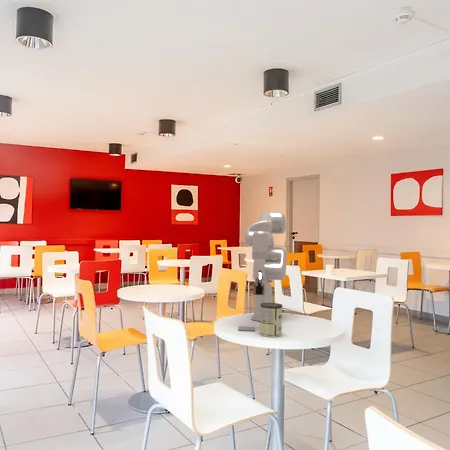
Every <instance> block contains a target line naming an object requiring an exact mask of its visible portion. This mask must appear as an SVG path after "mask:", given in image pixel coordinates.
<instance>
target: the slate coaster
mask: <svg viewBox="0 0 450 450" xmlns="http://www.w3.org/2000/svg"><path fill="white" fill-rule="evenodd" d="M238 332H256V327H255V326H246V325H245V326H241V325H239V326H238Z"/></svg>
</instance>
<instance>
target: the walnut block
mask: <svg viewBox="0 0 450 450" xmlns="http://www.w3.org/2000/svg"><path fill="white" fill-rule="evenodd" d="M256 286H257V284H255V282H254V283H253V287H252V289H253V290H252V291H253V292H252V294H253V295H254V296H255V295H259V294H256ZM262 286H263V290H262V295H264V287H265V285H264V284H262Z"/></svg>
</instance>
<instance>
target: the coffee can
mask: <svg viewBox="0 0 450 450" xmlns="http://www.w3.org/2000/svg"><path fill="white" fill-rule="evenodd" d="M260 306H261V309H260V321H259V335H260V336H262V337H267V338H279V337H281V336H282V334H283V333H282V329H283V327H282V326H283V306H284V305H283V304H281V303H278V302H277V303H276V302H272V303H261V304H260Z"/></svg>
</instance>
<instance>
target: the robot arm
mask: <svg viewBox="0 0 450 450" xmlns="http://www.w3.org/2000/svg"><path fill="white" fill-rule="evenodd" d="M286 231H287V222H286V217H285V214H284V213H283V212H281V211H263V212H261V213H260V214H259V216H258V220H257V221H256V222H254V223H252V224H251V225H249V226H248V227H247V229H246V231H245V235H244V242H245V244H246V245H247V246H250V247H252V248H251V249H252V251H251V260H253V267H252V268H253V271H252V279H253V280H254V284H257V286H256V294H259V295H254V300H253V301H254V302H253V303H254V304H253V315H252V316H251V317H250V319H251V320H253V321H257V322H260V309H261V306H260V304H261V303H273V287H272V284H271V283H270V282H269V280H270V281H271V280H274V281H276V280H277V281H281V280H284V279H285V278H286V273H287V261H288V259H287V256H288V255H287V250H286V249H285V248H284V247H279V246H278V247H277V246H275V241H274V236H273V235H275V234H276V235H277V234H278V235H282V234H284V233H285V232H286ZM262 284H264V285H265V287H264V295H262V290H263V286H262Z"/></svg>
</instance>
